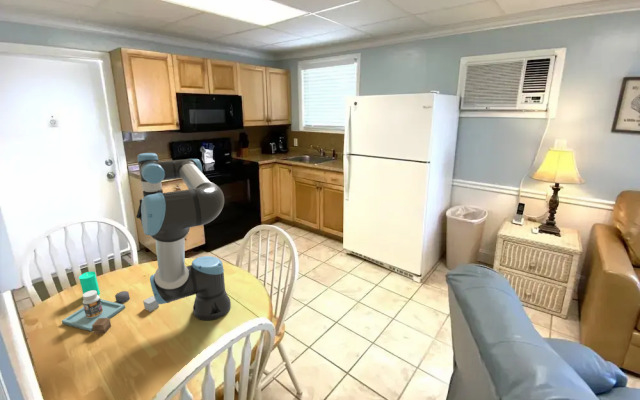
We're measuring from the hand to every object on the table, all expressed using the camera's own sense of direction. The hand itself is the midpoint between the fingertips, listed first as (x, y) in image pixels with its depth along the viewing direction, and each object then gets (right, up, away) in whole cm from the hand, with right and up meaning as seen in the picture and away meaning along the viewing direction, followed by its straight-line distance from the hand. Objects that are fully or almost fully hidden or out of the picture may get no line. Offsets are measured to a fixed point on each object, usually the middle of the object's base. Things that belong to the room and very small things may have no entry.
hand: (159, 235), depth 139 cm
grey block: (0, -30, -7) cm, 31 cm away
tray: (-20, -32, -12) cm, 39 cm away
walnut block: (-12, -34, -20) cm, 41 cm away
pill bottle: (-20, -31, -12) cm, 39 cm away
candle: (-31, -28, +1) cm, 41 cm away
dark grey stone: (-15, -29, -2) cm, 32 cm away
